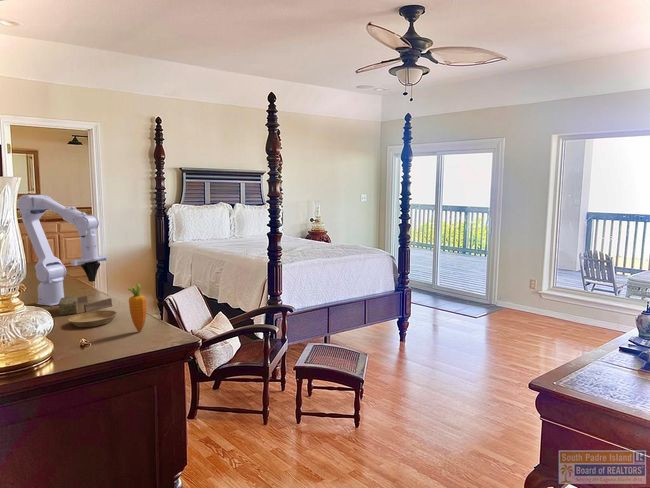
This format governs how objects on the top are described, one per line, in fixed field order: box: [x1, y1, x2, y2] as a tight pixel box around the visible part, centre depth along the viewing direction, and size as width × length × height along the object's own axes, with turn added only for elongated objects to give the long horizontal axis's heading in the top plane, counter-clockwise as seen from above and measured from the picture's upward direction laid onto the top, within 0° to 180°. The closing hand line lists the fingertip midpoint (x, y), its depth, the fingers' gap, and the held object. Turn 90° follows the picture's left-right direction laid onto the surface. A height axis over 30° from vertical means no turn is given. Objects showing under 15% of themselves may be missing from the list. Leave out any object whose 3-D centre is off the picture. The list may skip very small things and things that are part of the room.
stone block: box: [58, 296, 79, 316], centre depth 176 cm, size 6×12×5 cm, turn 26°
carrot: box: [127, 282, 147, 333], centre depth 146 cm, size 5×5×15 cm
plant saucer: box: [67, 309, 118, 328], centre depth 160 cm, size 15×15×3 cm
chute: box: [77, 295, 113, 313], centre depth 182 cm, size 15×11×3 cm
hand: (92, 281), depth 186 cm, fingers closed
